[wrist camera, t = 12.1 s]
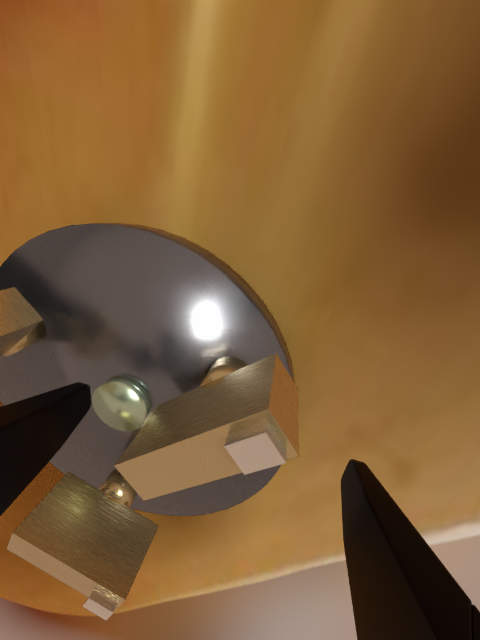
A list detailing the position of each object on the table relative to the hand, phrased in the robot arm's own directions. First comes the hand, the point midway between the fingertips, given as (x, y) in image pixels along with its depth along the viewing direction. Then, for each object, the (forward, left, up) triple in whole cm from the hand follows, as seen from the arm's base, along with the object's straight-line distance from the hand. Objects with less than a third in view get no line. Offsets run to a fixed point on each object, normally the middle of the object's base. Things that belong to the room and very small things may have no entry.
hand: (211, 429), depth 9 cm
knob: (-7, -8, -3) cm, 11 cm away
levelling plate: (-6, -2, -5) cm, 8 cm away
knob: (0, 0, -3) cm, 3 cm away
